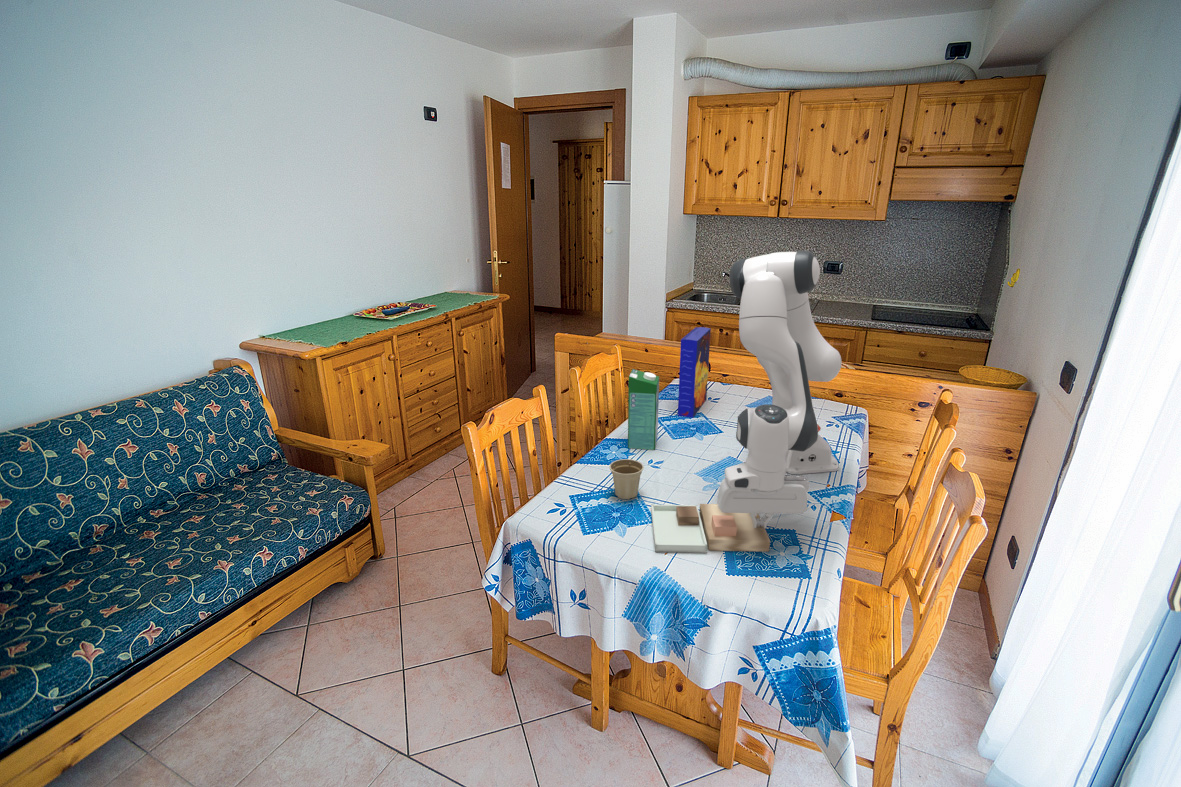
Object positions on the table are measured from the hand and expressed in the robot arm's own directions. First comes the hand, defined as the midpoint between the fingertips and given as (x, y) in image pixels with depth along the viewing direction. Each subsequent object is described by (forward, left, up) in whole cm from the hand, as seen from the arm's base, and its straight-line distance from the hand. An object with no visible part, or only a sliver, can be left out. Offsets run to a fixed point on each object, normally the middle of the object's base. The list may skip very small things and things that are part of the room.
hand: (759, 527), depth 132 cm
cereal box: (+4, -91, -4) cm, 91 cm away
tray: (+19, -4, -4) cm, 20 cm away
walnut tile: (+16, -8, -3) cm, 18 cm away
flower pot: (+31, -22, -4) cm, 39 cm away
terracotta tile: (+8, 0, -1) cm, 8 cm away
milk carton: (+25, -56, -4) cm, 62 cm away
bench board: (+5, -4, -4) cm, 8 cm away
